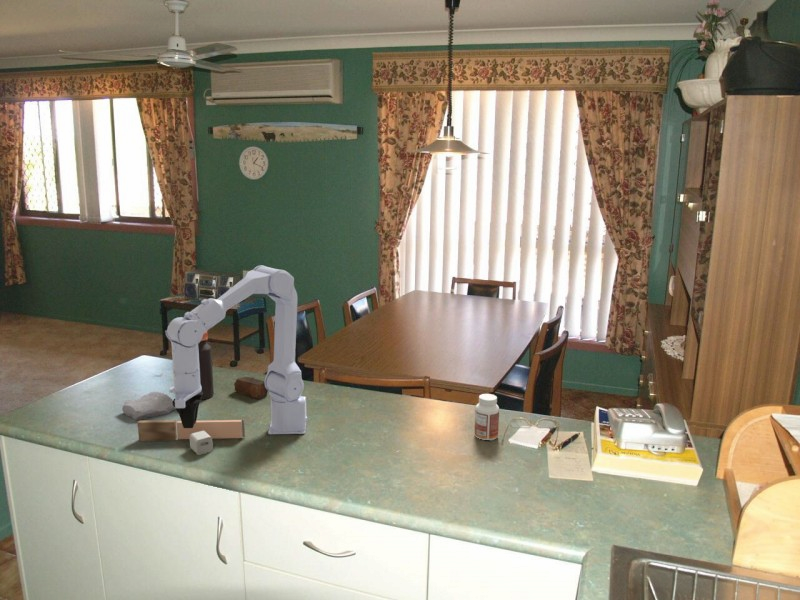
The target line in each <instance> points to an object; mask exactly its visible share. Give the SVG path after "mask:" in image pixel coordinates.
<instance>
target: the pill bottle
mask: <svg viewBox="0 0 800 600" xmlns="http://www.w3.org/2000/svg"><path fill="white" fill-rule="evenodd" d="M497 403H498V397H497V395H495V394H491V393H482V394H479V396H478V403H476V406H475V414H474V415H475V416H474V436H475V437H476V438H477V439H478V438H479V440H480V439H482V440H481V441H484V440H490V441H494V440H496V439H498V436H499V427H500V426H499V424H500V407H499V405H498V404H497Z"/></svg>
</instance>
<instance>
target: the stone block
mask: <svg viewBox="0 0 800 600" xmlns="http://www.w3.org/2000/svg"><path fill="white" fill-rule="evenodd" d="M173 400H174V399H173V398H171V397H170V396H169V395H168V394H166V393H164V392H162V391H151V392H150V393H147V394H144V395H142V396H141V397H140V398H137V399H134V400H130V399H128V400H126V401H124V403H123V405H122V412H123V414H124V415H126V416H127V417H131V418H132V419H133V420H134V421H135V420H137V421H140V420H142V419H143V420H144V419H148V418H152V417H157V416H161V415H162V416H163V415H166V414H169V413H170V412H173V411H174V410H175V407H174V406H173Z"/></svg>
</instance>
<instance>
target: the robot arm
mask: <svg viewBox="0 0 800 600" xmlns="http://www.w3.org/2000/svg"><path fill="white" fill-rule="evenodd" d="M252 295H267V296H268V297H270V299H271V300H272V301H274V302H275V312H274V314H275V315H274V337H273V338H274V342H273V344H274V345H273V361H272V362H271V363H270V364H269V365H268V366H267V372H266V375H265V378H264V380H263V381H264V384H265V387H266V389H267V390H268V393H269V395H268V396H270V398H269V399H270V425H269V428H268V432H267V434H268V435H297V434H298V435H302V434H303V435H304V434H305V433H306V430H307V429H306V428H307V424H308V416H307V397H306V396H302V393H303V391H304V388H305V387H304V386H305V384H304V380H303V379H302V378H303V377H302V370H301V369H300V367H299V366H298V364H297V363H296V345H297V343H296V342H297V341H296V340H297V325H298V324H297V321H298V320H297V319H298V292H297V290H296V288H295V277H294V276H292V275H291V273H290V272H288V271H287V270H284V269H278V268H273V267H269V266H266V265H262V264H261V265H257V266H256V267H254V268H253V269H251V270H249V271H247V273H246V274H245V276H244V277H243V278H242V279H241V280H239V281H238V282H237V283H236V284H234V285H233V286H232V287H230V288H229V289H228V290H227V291H225V292H224V293H223V294H222V295H221V296H219V297H218V298H216V299H215V298H211V297H210V298H208V299H207V298H204V299H202V300H201V301H200V304H199V305H197V306H196V307H194V308H193V309H191V310H190V311H187V312H185V313H184V316H183V317H182V316H180V317H179V316H178V317H176V318H173V319H172V320H170V322H169V323H168V326H167V329H166V330H165V331H164V332H165V336H166V338H167V339H168V340H169V341H170V343H171V356H172V357H171V358H172V360H171V361H172V373H173V386H170V388H169V389H168V392H169V393H172V394H173V395H174V398H173V399H172V400H173V406H174V407H175V408H174V410H176V412H177V414H178V415H179V418H180V421H181V422H182V425H183V427H184V428H193V426H194V424H195V423H196V421H198V420H197V419H198V415H199V414H198V413H199V407H200V403H201V398H202V395H203V391H201V390H202V387H201V384H200V367H199V350H198V343H199V342H200V341H201V339H202V337H203V334H204V333H205V332H206V331H207V332H208V331H209V330H210V329H212V328H213V327H215V325H218V323H220V322H221V321H222V320H224V319H225V318H226V314H227V313H226V312H227V311H228V310H229V309H231V308H233V307H234V306H236V305H237V304H239V303H240V302H242V301H244V300H245V299H247V298H249V297H250V296H252Z"/></svg>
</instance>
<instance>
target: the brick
mask: <svg viewBox="0 0 800 600" xmlns="http://www.w3.org/2000/svg"><path fill="white" fill-rule="evenodd" d="M264 381H265V380H262V379H257V378H254V377H251V376H242V377H238V378H236V380H235V382H234V391H235V392H237V393H238V394H240V393H241V394H240V395H243V394H244V396H246V395H247V397H250V398H253V399H256V398H257V400H261V399H263V398H266V397H267V395H268V393H269V391H268V390H267V389H266V387H265V384H264Z"/></svg>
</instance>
